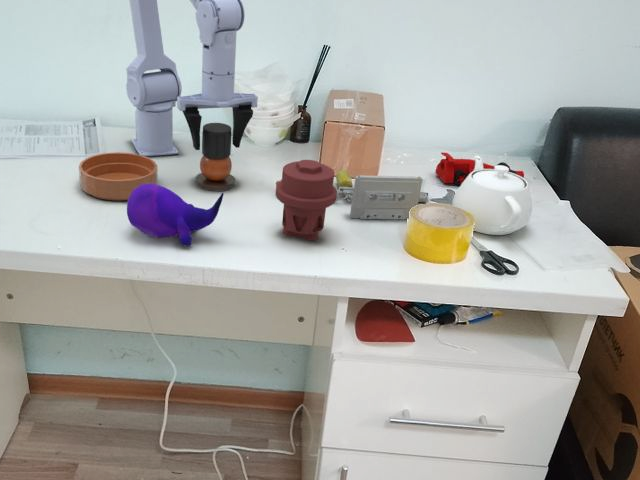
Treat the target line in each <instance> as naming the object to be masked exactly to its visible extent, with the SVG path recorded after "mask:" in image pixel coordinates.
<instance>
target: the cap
mask: <svg viewBox="0 0 640 480" xmlns="http://www.w3.org/2000/svg"><path fill="white" fill-rule="evenodd" d="M201 135H202V137H201V138H202V139H201V154H202V156H203V155H204V156H205V157H208V158H211V159H225V158H227V157H230V156H231V154H232V135H233V132H232V127H231V126H230V125H229V124H226V123H222V122H208V123H205V124H203V126H202V133H201Z"/></svg>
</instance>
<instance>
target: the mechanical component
mask: <svg viewBox="0 0 640 480" xmlns="http://www.w3.org/2000/svg"><path fill="white" fill-rule="evenodd" d="M281 179H282V181H281V180H280V181H281V182H279V183H278V184H277V186H276V185H275V197H276V199H277V200H278V201H279V202H280V203H282V204H283V207H282V208H283V210H282V221H281V226H282V235H283V236H285V237H293V238H300V239H305V240H308V241H310V242H316V241H318V240H319V233H320V232H322V230H324V227H325V221H326V220H325V219H326V210H327V208H330V207H331V206H333V205H334V204H335V203H336V199H338V195H337V191H338V189H337V188H336V187H335V186H334V182H335V181H334V179H335V171H334V169H333V168H332V167H330V166H328V165H326V164H324V163H321V162H319V161H317V160H313V159H301V160H296V161H291V162H289V163H285V165H284V166H283V167H282V173H281Z"/></svg>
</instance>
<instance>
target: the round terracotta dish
mask: <svg viewBox="0 0 640 480" xmlns="http://www.w3.org/2000/svg"><path fill="white" fill-rule="evenodd" d="M158 173H159V172H158V164H157V162H156V161H155V160H154V159H151V158H150V157H149V156H142V155H140V154H139V153H133V152H132V153H131V152H120V151H119V152H104V153H103V152H102V153H99V154H94V155H91V156H87V157H86V158H85V159H83V160H82V161H80V162H79V165H78V175H79V177H78V178H79V186H80V189H81V190H82V191H83V192H85V193H86V194H87V195H90V196H92V197H94V198H97V199H102V200H106V201H119V202H120V201H128V200H129V197H130V195H131V193H132V192H133V190H134V189H135V188H137V187H138V186H140V185H143V184H156V185H159V176H158V175H159V174H158Z"/></svg>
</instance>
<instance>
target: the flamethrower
mask: <svg viewBox="0 0 640 480" xmlns="http://www.w3.org/2000/svg"><path fill="white" fill-rule="evenodd" d="M281 181H282V178H281V179H280V180H276V182H275V187H276V186H277V184H278V183H279V182H281ZM335 181H336V183H337V186H338V189H337V196H339V195H342V196H344V198H336V201H344V200H347V203H348V202H349V203H350V202H351V203H352V197H353V190H354V184H353V182H352V179H351V176H350V172H349V171H348V170H345V169H341V170H338V172H337V173H336V175H335ZM373 195H374V194H372V195H370V197H372V196H373ZM401 196H402V194H401V195H399V196H398V197H401ZM428 196H429V192H423V191H422V192H421V191H420V196H419V201H418V203H427V201H428ZM392 197H393V193H380V196H379V198H392ZM349 198H350V199H349Z"/></svg>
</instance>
